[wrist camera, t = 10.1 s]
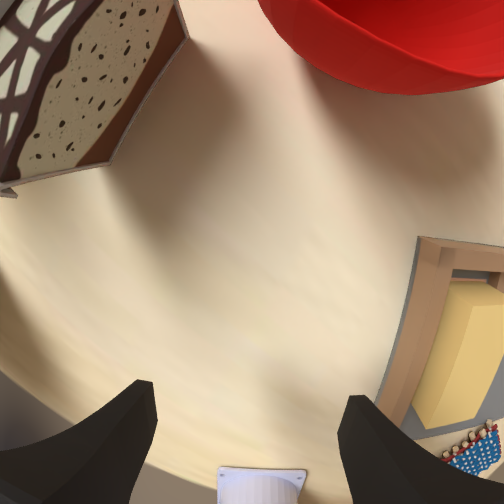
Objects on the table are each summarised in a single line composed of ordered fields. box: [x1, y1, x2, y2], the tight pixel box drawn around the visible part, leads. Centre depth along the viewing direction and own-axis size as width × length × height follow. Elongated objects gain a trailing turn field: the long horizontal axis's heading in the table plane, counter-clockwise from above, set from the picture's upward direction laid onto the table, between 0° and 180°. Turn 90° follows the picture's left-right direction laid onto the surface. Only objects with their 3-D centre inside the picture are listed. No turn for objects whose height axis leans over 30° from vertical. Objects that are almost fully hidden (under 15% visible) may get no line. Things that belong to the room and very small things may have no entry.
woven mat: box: [441, 419, 501, 476], centre depth 23 cm, size 10×11×2 cm
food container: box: [0, 0, 190, 199], centre depth 11 cm, size 12×6×10 cm, turn 148°
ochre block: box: [411, 280, 504, 429], centre depth 17 cm, size 4×9×4 cm, turn 177°
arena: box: [374, 236, 504, 440], centre depth 19 cm, size 18×18×3 cm
